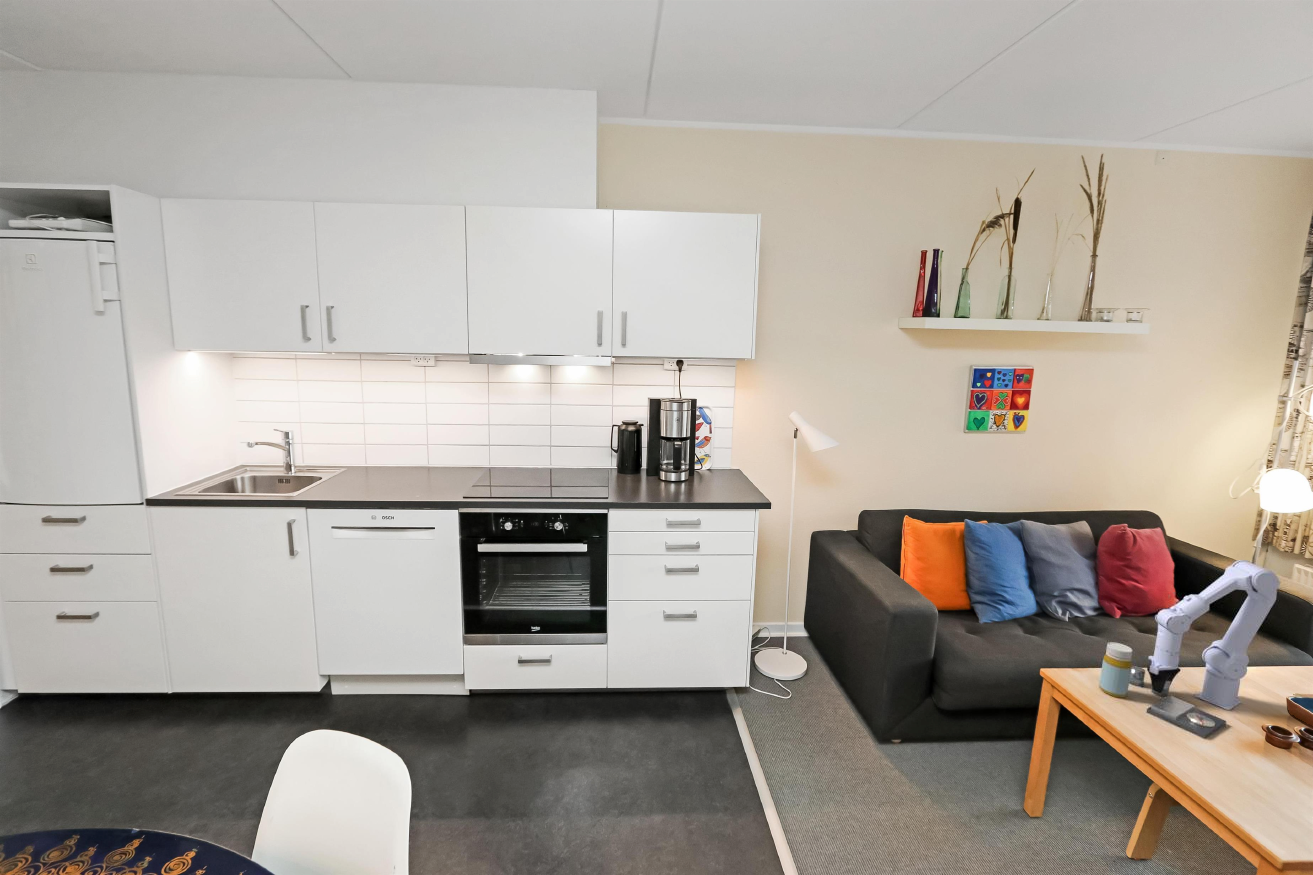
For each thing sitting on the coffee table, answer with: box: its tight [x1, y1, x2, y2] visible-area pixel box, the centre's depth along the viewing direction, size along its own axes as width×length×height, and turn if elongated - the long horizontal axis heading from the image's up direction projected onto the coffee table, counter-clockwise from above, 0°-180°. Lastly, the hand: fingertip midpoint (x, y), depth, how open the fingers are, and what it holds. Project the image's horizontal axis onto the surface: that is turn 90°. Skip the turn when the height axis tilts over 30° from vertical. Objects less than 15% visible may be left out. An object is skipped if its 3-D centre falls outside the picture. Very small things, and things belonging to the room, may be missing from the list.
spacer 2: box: [1151, 679, 1171, 698], centre depth 187 cm, size 4×4×5 cm
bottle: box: [1098, 641, 1133, 699], centre depth 186 cm, size 7×7×15 cm
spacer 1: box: [1129, 665, 1146, 688], centre depth 193 cm, size 4×4×5 cm
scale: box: [1146, 695, 1227, 739], centre depth 175 cm, size 14×14×2 cm
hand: (1160, 689), depth 187 cm, fingers closed on spacer 2, 4 cm apart
